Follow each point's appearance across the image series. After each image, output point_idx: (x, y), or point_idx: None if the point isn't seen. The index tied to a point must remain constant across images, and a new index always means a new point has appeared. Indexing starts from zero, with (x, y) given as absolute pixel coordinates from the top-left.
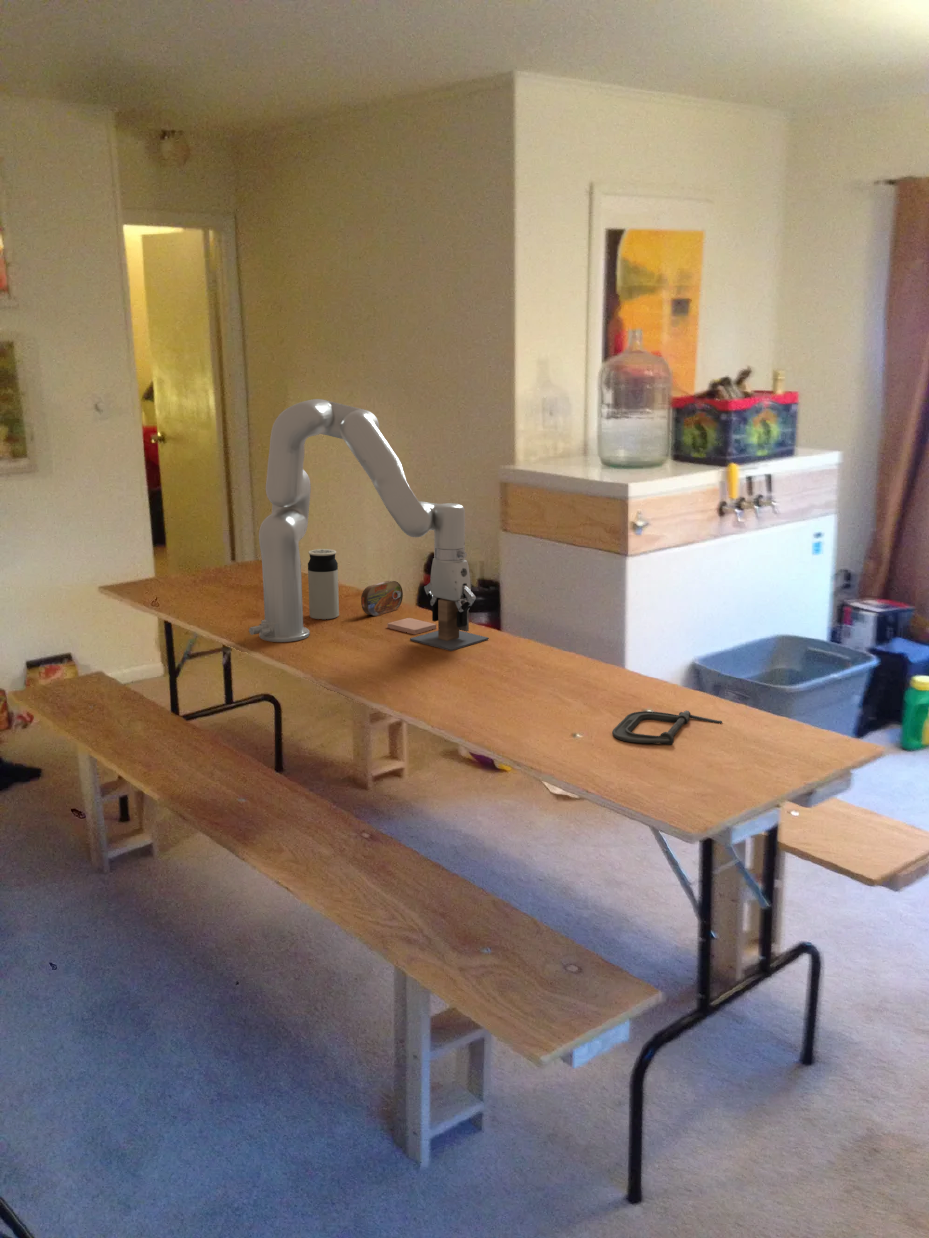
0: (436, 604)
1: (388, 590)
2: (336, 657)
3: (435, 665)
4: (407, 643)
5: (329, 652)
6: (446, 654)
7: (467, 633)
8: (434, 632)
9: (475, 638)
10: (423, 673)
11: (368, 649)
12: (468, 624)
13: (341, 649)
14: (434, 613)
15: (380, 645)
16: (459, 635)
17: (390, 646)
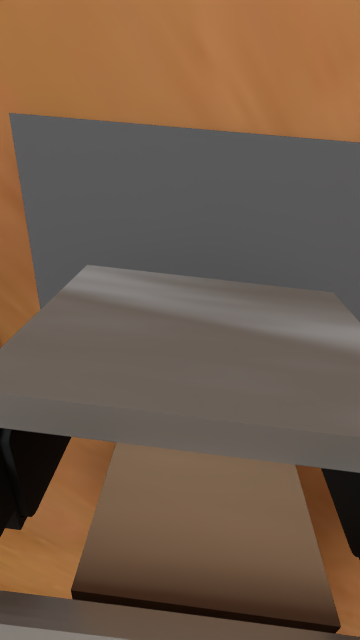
0: (5, 520)
1: None
2: (65, 591)
3: (348, 558)
4: (91, 447)
5: (14, 576)
6: (322, 478)
7: (236, 159)
8: (50, 282)
9: (356, 237)
10: (350, 600)
11: (59, 533)
12: (353, 318)
13: (8, 555)
14: (60, 459)
15: (45, 498)
16: (217, 242)
17: (79, 493)
